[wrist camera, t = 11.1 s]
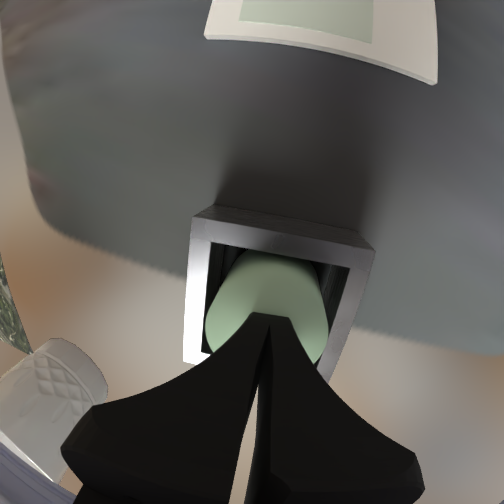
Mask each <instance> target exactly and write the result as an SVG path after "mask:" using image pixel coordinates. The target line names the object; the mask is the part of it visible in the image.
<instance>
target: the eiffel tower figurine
mask: <svg viewBox="0 0 504 504" xmlns="http://www.w3.org/2000/svg"><path fill="white" fill-rule="evenodd" d="M0 340H1V341H3V342H6V343H7V344H9V345H11V346H13V347H15V348H17V349H19V350H20V351H22V352H24V353H27V354H29V355H31V354H33V351H32V349H31V347H30V344H29V342H28V339H27V337H26V334H25V331H24V329H23V326H22V323H21V321H20V318H19V315H18V313H17V310H16V307H15V304H14V302H13V299H12V296H11V293H10V289H9V286H8V283H7V279H6V275H5V271H4V268H3V263H2V259H1V255H0Z"/></svg>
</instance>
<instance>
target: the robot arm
mask: <svg viewBox="0 0 504 504" xmlns="http://www.w3.org/2000/svg"><path fill="white" fill-rule="evenodd" d="M257 387H258V404H257V423H256V438H255V447H254V453H253V459H252V464H251V470H250V475H249V480H248V486H247V491H246V496H245V501H244V504H413V503H414V502H415V501H416V500H418V499H419V498H420V496H421V495H422V493H423V492H424V490H425V486H424V482H423V478H422V473H421V469H420V465H419V463H418V460H417V457H416V455H415V453H414V452H412V451H410V450H409V449H407V448H405V447H403V446H402V445H400V444H398V443H397V442H395V441H393V440H392V439H390V438H388V437H387V436H385V435H384V434H382V433H381V432H379V431H378V430H377V429H375V428H374V427H372V426H371V425H370V424H368V423H367V422H366V421H365V420H364V419H362V418H361V417H360V416H359V415H358V414H356V413H355V412H354V411H353V410H352V409H351V408H350V407H349V406H348V405H347V404H346V403H345V402H344V401H343V400H342V399H341V398H340V397H339V396H338V395H337V394H336V393H335V392H334V391H333V390H332V388H331V387H330V386H329V385H328V384H327V382H326V381H325V380H324V378H323V377H322V376H321V374H320V373H319V371H318V370H317V368H316V367H315V366H314V364H313V363H312V361H311V359H310V358H309V356H308V354H307V353H306V351H305V349H304V347H303V346H302V344H301V342H300V340H299V338H298V336H297V334H296V331H295V329H294V327H293V324H292V322H291V320H290V318H289V317H284V316H277V315H271V314H264V313H258V312H252V313H250V314H249V316H248V317H247V319H246V320H245V321H244V323H243V324H242V325H241V326H240V327H239V329H238V330H237V331H236V332H235V333H234V334H233V335H232V336H231V337H230V338H229V339H228V340H227V341H226V342H225V343H224V344H223V345H221V346H220V347H219V348H218V349H217V350H216V351H215V352H213V353H212V354H211V355H210V356H208V357H207V358H206V359H204V360H203V361H202V362H200V363H199V364H197V365H196V366H194V367H193V368H191V369H190V370H188V371H186V372H185V373H183V374H181V375H179V376H178V377H176V378H174V379H172V380H170V381H168V382H166V383H164V384H162V385H160V386H157V387H155V388H152V389H150V390H147V391H145V392H142V393H140V394H137V395H134V396H130V397H127V398H124V399H119V400H116V401H111V402H108V403H103V404H98V405H93V406H92V407H91V408H90V409H89V410H88V411H87V412H86V413H85V414H84V415H83V416H82V417H81V419H80V420H79V421H78V423H77V424H76V425H75V427H74V428H73V430H72V431H71V432H70V434H69V435H68V437H67V438H66V440H65V441H64V442H63V444H62V445H61V447H60V450H61V455H62V457H63V459H64V460H65V462H66V464H67V465H68V466H69V467H70V469H71V470H72V471H73V472H74V473H75V475H76V476H77V477H78V478H79V480H80V481H81V482H82V483H83V486H82V488H81V489H80V491H79V493H78V495H77V496H76V495H74V494H73V493H71V492H69V491H68V490H66V489H64V488H63V487H61V486H59V485H58V484H56V483H55V482H53V481H52V480H50V479H48V478H47V477H46V476H44V475H43V474H41V473H40V472H38V471H37V470H35V469H34V468H33V467H31V466H30V465H29V464H27V463H26V462H25V461H23V460H22V459H21V458H19V457H18V456H17V455H16V454H14V453H13V452H12V451H11V450H10V449H8V448H7V447H6V446H5V445H4V444H3V443H1V442H0V504H228V503H229V499H230V495H231V490H232V485H233V480H234V475H235V471H236V466H237V461H238V457H239V452H240V447H241V442H242V438H243V434H244V430H245V428H246V424H247V421H248V418H249V414H250V411H251V407H252V404H253V401H254V398H255V394H256V390H257ZM500 504H504V500H503V501H502V502H501V503H500Z"/></svg>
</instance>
